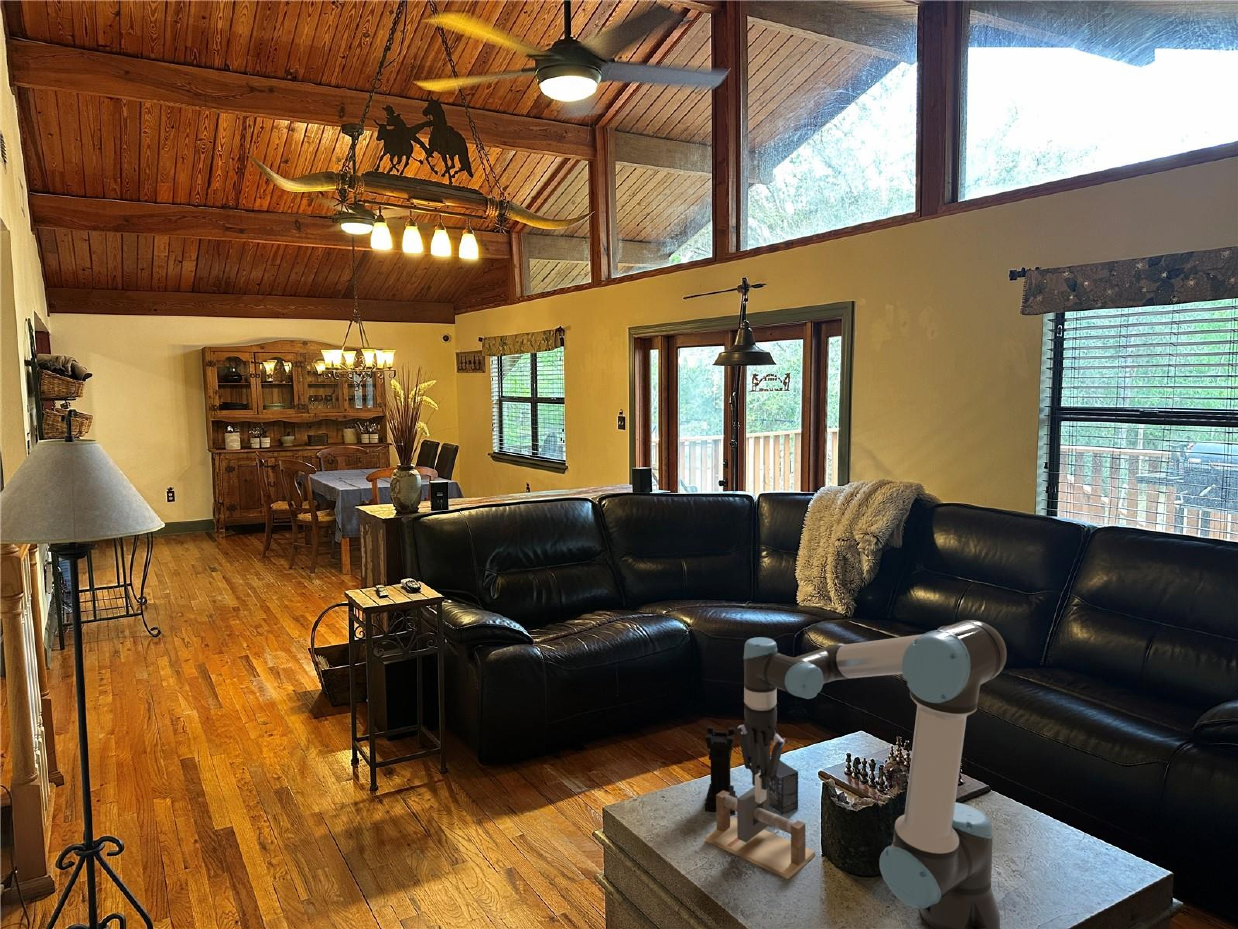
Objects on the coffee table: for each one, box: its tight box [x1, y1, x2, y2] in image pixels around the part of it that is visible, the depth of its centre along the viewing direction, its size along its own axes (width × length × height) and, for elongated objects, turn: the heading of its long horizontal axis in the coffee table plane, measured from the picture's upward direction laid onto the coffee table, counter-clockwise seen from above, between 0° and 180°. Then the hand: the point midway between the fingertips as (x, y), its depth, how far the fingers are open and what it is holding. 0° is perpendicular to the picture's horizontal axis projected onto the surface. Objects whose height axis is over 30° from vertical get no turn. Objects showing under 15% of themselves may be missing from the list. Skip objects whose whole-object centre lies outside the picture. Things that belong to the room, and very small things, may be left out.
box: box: [769, 759, 799, 815], centre depth 207 cm, size 8×6×11 cm
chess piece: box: [703, 725, 738, 815], centre depth 207 cm, size 8×8×20 cm
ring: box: [736, 786, 771, 843], centre depth 189 cm, size 2×10×10 cm, turn 137°
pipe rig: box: [705, 790, 816, 880], centre depth 188 cm, size 23×12×10 cm, turn 47°
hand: (760, 800), depth 187 cm, fingers closed
